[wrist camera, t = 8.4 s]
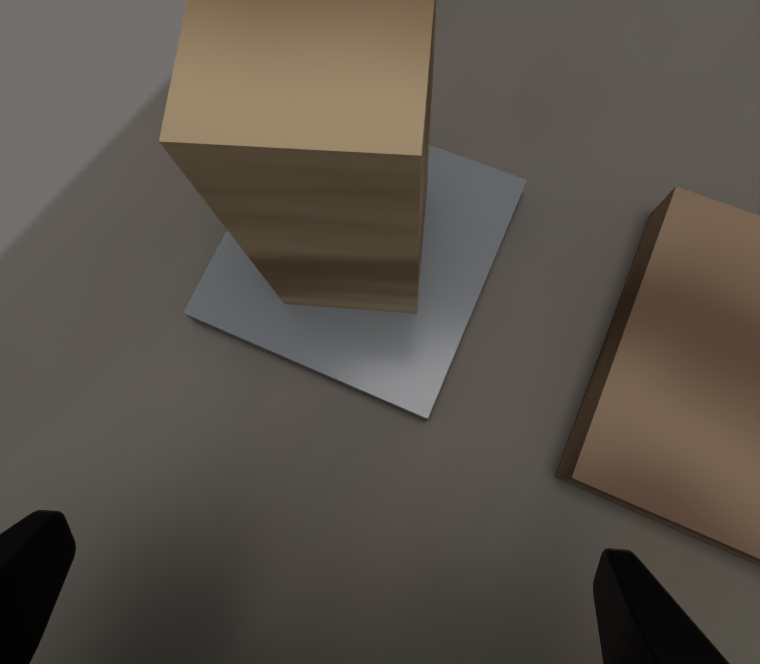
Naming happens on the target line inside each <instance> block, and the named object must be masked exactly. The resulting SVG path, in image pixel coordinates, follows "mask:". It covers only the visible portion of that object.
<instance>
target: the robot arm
mask: <svg viewBox="0 0 760 664" xmlns="http://www.w3.org/2000/svg"><path fill="white" fill-rule="evenodd" d="M75 550H76V545H75V540H74V538H73V535H72V533H71V530H70V528H69V525H68V523H67V520H66V518H65V516H64V514H63V513H61V512H59V511H49V510H38V511H35V512H33V513H31V514H29V515H28V516H26V517H25V518H23V519H22V520H21V521H19V522H18V523H16V524H15V525H13V526H12V527H10V528H9V529H7V530H6V531H4V532H3V533H1V534H0V664H29V663H30V661H31V659H32V657H33V655H34V653H35V651H36V649H37V647H38V645H39V643H40V640H41V638H42V636H43V633H44V631H45V629H46V626H47V624H48V621H49V619H50V616H51V614H52V611H53V609H54V606H55V604H56V601H57V599H58V596H59V594H60V591H61V589H62V586H63V584H64V581H65V579H66V576H67V574H68V571H69V569H70V566H71V564H72V561H73V559H74V556H75ZM593 595H594V602H595V609H596V616H597V623H598V629H599V636H600V643H601V650H602V657H603V664H729V662H728V661H727V660H726V659H725V658H724V657H723V655H722V654H721V653H720V652H719V651H718V650H717V649H716V647H715V646H714V645H713V644H712V643H711V642H710V640H709V639H708V638H707V637H706V636H705V635H704V633H703V632H702V631H701V630H700V629H699V628H698V627H697V625H696V624H695V623H694V622H693V621H692V620H691V618H690V617H689V616H688V615H687V614H686V613H685V612H684V610H683V609H682V608H681V607H680V606H679V605H678V603H677V602H676V601H675V600H674V599H673V598H672V596H671V595H670V594H669V593H668V592H667V591H666V590H665V588H664V587H663V586H662V585H661V584H660V583H659V581H658V580H657V579H656V578H655V577H654V576H653V575H652V573H651V572H650V571H649V570H648V569H647V568H646V566H645V565H644V564H643V563H642V562H641V561H640V559H639V558H638V557H637V556H636V555H635V554H634V553H633V552H631V551H630V550H626V549H612V548H607V549H605V550H604V551H603V552H602V554H601V558H600V561H599V564H598V568H597V571H596V574H595V578H594V582H593Z"/></svg>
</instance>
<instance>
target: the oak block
mask: <svg viewBox="0 0 760 664" xmlns="http://www.w3.org/2000/svg"><path fill="white" fill-rule="evenodd" d="M436 2H437V0H187V3H186V8H185V13H184V19H183V23H182V28H181V33H180V38H179V43H178V48H177V53H176V59H175V63H174V68H173V73H172V79H171V84H170V89H169V94H168V99H167V104H166V109H165V114H164V119H163V124H162V129H161V134H160V139H159V142H160V143H161V145H162V146H163V147H164V148H165V150H166V151H167V152H168V154H169V155H170V156H171V158H172V159H173V160H174V161H175V163H176V164H177V165H178V167H179V168H180V169H181V171H182V172H183V173H184V174H185V176H186V177H187V178H188V180H189V181H190V182H191V183H192V185H193V186H194V187H195V189H196V190H197V191H198V193H199V194H200V195H201V196H202V198H203V199H204V200H205V202H206V203H207V204H208V206H209V207H210V208H211V209H212V211H213V212H214V213H215V215H216V216H217V217H218V218H219V220H220V221H221V222H222V224H223V225H224V226H225V228H226V229H227V230H228V231H229V233H230V234H231V235H232V237H233V238H234V239H235V240H236V242H237V243H238V244H239V246H240V247H241V248H242V250H243V251H244V252H245V253H246V255H247V256H248V257H249V259H250V260H251V261H252V263H253V264H254V265H255V266H256V268H257V269H258V270H259V272H260V273H261V274H262V275H263V277H264V278H265V279H266V281H267V282H268V283H269V285H270V286H271V287H272V288H273V290H274V291H275V292H276V294H277V295H278V296H279V297H280V299H281V300H282V301H283V303H284V304H294V305H307V306H321V307H334V308H348V309H361V310H374V311H388V312H401V313H415V314H417V308H418V296H419V283H420V271H421V258H422V246H423V233H424V221H425V208H426V196H427V180H428V160H429V140H430V120H431V101H432V81H433V61H434V41H435V22H436Z"/></svg>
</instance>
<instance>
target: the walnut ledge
mask: <svg viewBox="0 0 760 664" xmlns="http://www.w3.org/2000/svg"><path fill="white" fill-rule="evenodd" d="M555 477H557V478H559V479H561V480H564V481H566V482H568V483H570V484H573V485H575V486H577V487H580V488H582V489H584V490H587V491H589V492H591V493H594V494H596V495H598V496H600V497H603V498H605V499H607V500H610V501H612V502H614V503H617V504H619V505H621V506H624V507H626V508H628V509H630V510H633V511H635V512H637V513H640V514H642V515H644V516H647V517H649V518H651V519H654V520H656V521H658V522H660V523H663V524H665V525H667V526H670V527H672V528H674V529H677V530H679V531H681V532H683V533H686V534H688V535H690V536H693V537H695V538H697V539H700V540H702V541H704V542H707V543H709V544H711V545H713V546H716V547H718V548H720V549H723V550H725V551H727V552H730V553H732V554H734V555H737V556H739V557H741V558H743V559H746V560H748V561H750V562H753V563H755V564H757V565H760V216H759V215H757V214H754V213H751V212H748V211H745V210H742V209H739V208H736V207H734V206H731V205H728V204H725V203H722V202H719V201H716V200H714V199H711V198H708V197H705V196H702V195H699V194H696V193H693V192H691V191H688V190H685V189H682V188H679V187H675V188H674V189H673V190H672V191H671V192H670V194H669V195H668V196H667V197H666V198H665V199H664V200H663V201H662V202H661V203H660V204H659V205H658V206H657V208H656V209H655V210H654V211H653V212H652V213H651V216H650V218H649V221H648V224H647V227H646V229H645V232H644V235H643V238H642V240H641V243H640V246H639V249H638V251H637V254H636V257H635V259H634V262H633V265H632V268H631V270H630V273H629V276H628V279H627V281H626V284H625V287H624V290H623V292H622V295H621V298H620V301H619V303H618V306H617V309H616V312H615V314H614V317H613V320H612V323H611V325H610V328H609V331H608V334H607V336H606V339H605V342H604V345H603V347H602V350H601V353H600V356H599V358H598V361H597V364H596V367H595V369H594V372H593V375H592V377H591V380H590V383H589V386H588V388H587V391H586V394H585V397H584V399H583V402H582V405H581V408H580V410H579V413H578V416H577V419H576V421H575V424H574V427H573V430H572V432H571V435H570V438H569V441H568V443H567V446H566V449H565V452H564V454H563V457H562V460H561V463H560V465H559V468H558V471H557V474H556V476H555Z"/></svg>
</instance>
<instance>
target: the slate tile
mask: <svg viewBox="0 0 760 664" xmlns="http://www.w3.org/2000/svg"><path fill="white" fill-rule="evenodd" d="M526 182H527V180H526V179H523V178H520V177H518V176H515V175H512V174H509V173H506V172H504V171H501V170H498V169H495V168H493V167H490V166H487V165H484V164H481V163H479V162H476V161H473V160H470V159H468V158H465V157H462V156H459V155H456V154H454V153H451V152H448V151H445V150H443V149H440V148H437V147H434V146H431V145H429V160H428V180H427V196H426V208H425V221H424V233H423V246H422V258H421V271H420V283H419V296H418V308H417V314H415V313H401V312H388V311H374V310H361V309H348V308H334V307H321V306H307V305H294V304H284V303H283V301H282V300H281V299H280V297H279V296H278V295H277V294H276V292H275V291H274V290H273V288H272V287H271V286H270V285H269V283H268V282H267V281H266V279H265V278H264V277H263V275H262V274H261V273H260V272H259V270H258V269H257V268H256V266H255V265H254V264H253V263H252V261H251V260H250V259H249V257H248V256H247V255H246V253H245V252H244V251H243V250H242V248H241V247H240V246H239V244H238V243H237V242H236V240H235V239H234V238H233V237H232V235H231V234H230V233H229V231H228V230H226V232H225V234H224V236H223V238H222V240H221V242H220V244H219V246H218V248H217V250H216V251H215V253H214V255H213V257H212V259H211V261H210V263H209V265H208V267H207V269H206V271H205V272H204V274H203V276H202V278H201V280H200V282H199V284H198V286H197V288H196V290H195V292H194V293H193V295H192V297H191V299H190V301H189V303H188V305H187V307H186V309H185V311H184V314H185V315H187V316H188V317H190V318H191V319H193V320H194V321H197V322H199V323H201V324H204V325H206V326H208V327H211V328H213V329H215V330H217V331H220V332H222V333H224V334H227V335H229V336H231V337H234V338H236V339H238V340H241V341H243V342H245V343H247V344H250V345H252V346H254V347H257V348H259V349H261V350H264V351H266V352H268V353H271V354H273V355H275V356H277V357H280V358H282V359H284V360H287V361H289V362H291V363H294V364H296V365H298V366H301V367H303V368H305V369H307V370H310V371H312V372H314V373H317V374H319V375H321V376H324V377H326V378H328V379H331V380H333V381H335V382H337V383H340V384H342V385H344V386H347V387H349V388H351V389H354V390H356V391H358V392H361V393H363V394H365V395H367V396H370V397H372V398H374V399H377V400H379V401H381V402H384V403H386V404H388V405H390V406H393V407H395V408H397V409H400V410H402V411H404V412H407V413H409V414H411V415H414V416H416V417H418V418H420V419H423V420H425V421H427V420H428V418H429V415H430V413H431V410H432V408H433V406H434V403H435V401H436V398H437V396H438V394H439V391H440V389H441V386H442V384H443V382H444V379H445V377H446V374H447V372H448V370H449V367H450V365H451V362H452V360H453V358H454V355H455V353H456V350H457V348H458V346H459V343H460V341H461V338H462V336H463V334H464V331H465V329H466V327H467V324H468V322H469V319H470V317H471V315H472V312H473V310H474V307H475V305H476V303H477V300H478V298H479V295H480V293H481V291H482V288H483V286H484V283H485V281H486V279H487V276H488V274H489V271H490V269H491V267H492V264H493V262H494V259H495V257H496V255H497V252H498V250H499V247H500V245H501V243H502V240H503V238H504V235H505V233H506V231H507V228H508V226H509V223H510V221H511V219H512V216H513V214H514V211H515V209H516V207H517V204H518V202H519V199H520V197H521V195H522V192H523V190H524V187H525V185H526Z"/></svg>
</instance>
